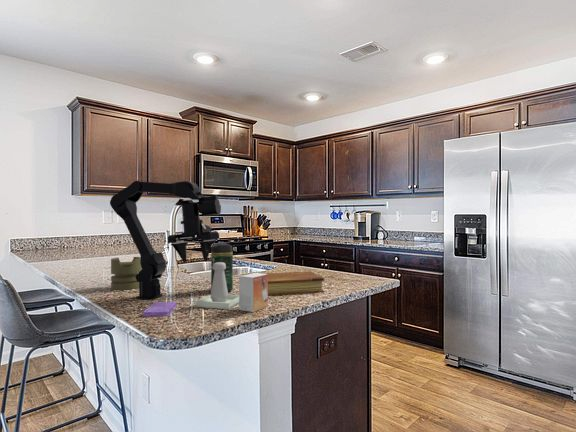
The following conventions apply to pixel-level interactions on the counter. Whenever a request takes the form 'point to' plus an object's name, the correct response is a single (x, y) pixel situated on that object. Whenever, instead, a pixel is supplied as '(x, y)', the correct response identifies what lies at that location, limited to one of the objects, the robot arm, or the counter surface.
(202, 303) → the tray
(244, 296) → the small box
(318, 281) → the diary
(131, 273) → the piston
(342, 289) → the counter surface
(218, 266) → the salt shaker
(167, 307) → the sponges
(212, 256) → the coffee jar
